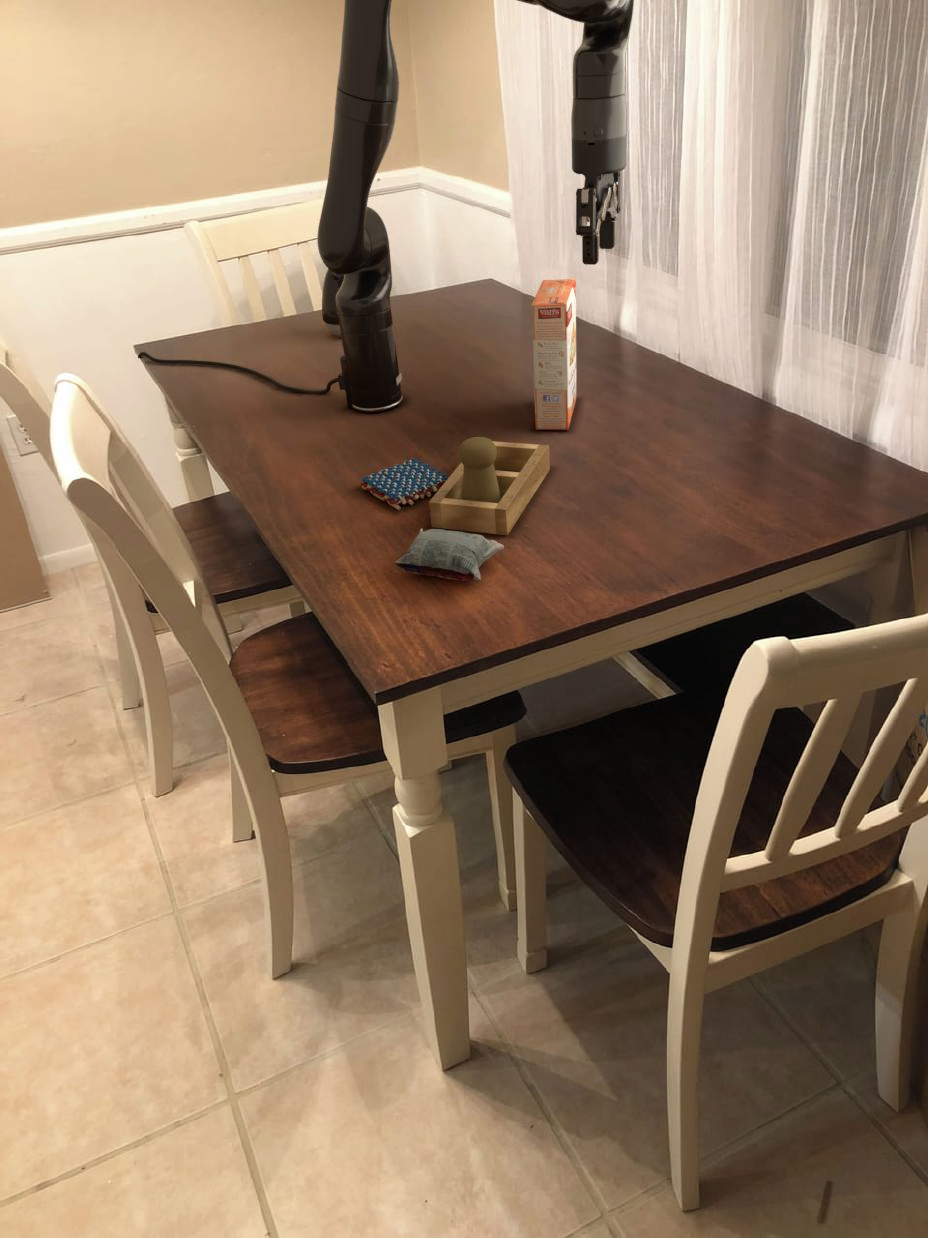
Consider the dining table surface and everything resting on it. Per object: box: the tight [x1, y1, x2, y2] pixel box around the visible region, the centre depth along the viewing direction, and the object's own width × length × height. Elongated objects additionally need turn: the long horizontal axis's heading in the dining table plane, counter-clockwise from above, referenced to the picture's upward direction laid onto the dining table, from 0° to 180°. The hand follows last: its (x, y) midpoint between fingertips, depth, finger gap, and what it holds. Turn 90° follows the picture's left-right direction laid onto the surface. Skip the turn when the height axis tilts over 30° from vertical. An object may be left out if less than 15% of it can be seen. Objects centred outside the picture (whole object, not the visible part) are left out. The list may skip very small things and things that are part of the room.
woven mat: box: [360, 457, 450, 511], centre depth 143 cm, size 10×11×2 cm
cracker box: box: [531, 278, 577, 431], centre depth 156 cm, size 14×6×21 cm, turn 168°
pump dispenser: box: [321, 268, 345, 338], centre depth 205 cm, size 10×10×15 cm
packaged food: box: [394, 528, 505, 582], centre depth 122 cm, size 9×12×5 cm
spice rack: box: [428, 440, 551, 536], centre depth 138 cm, size 11×21×4 cm, turn 159°
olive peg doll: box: [458, 436, 501, 503], centre depth 132 cm, size 6×6×11 cm
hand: (598, 255), depth 139 cm, fingers open, 8 cm apart
